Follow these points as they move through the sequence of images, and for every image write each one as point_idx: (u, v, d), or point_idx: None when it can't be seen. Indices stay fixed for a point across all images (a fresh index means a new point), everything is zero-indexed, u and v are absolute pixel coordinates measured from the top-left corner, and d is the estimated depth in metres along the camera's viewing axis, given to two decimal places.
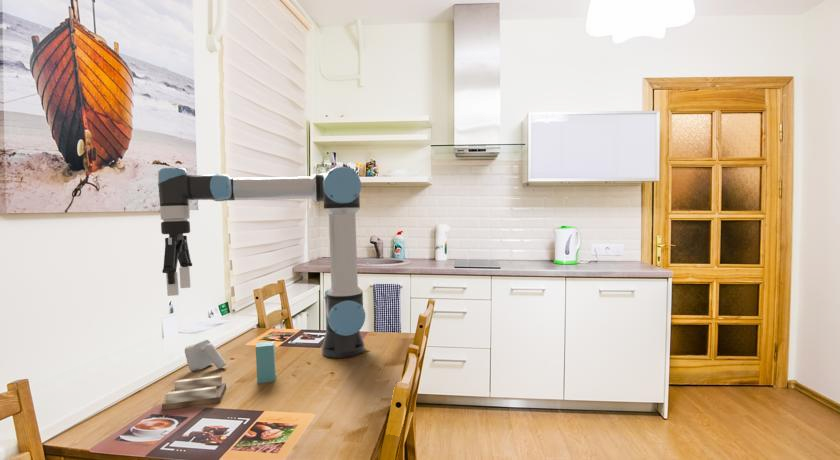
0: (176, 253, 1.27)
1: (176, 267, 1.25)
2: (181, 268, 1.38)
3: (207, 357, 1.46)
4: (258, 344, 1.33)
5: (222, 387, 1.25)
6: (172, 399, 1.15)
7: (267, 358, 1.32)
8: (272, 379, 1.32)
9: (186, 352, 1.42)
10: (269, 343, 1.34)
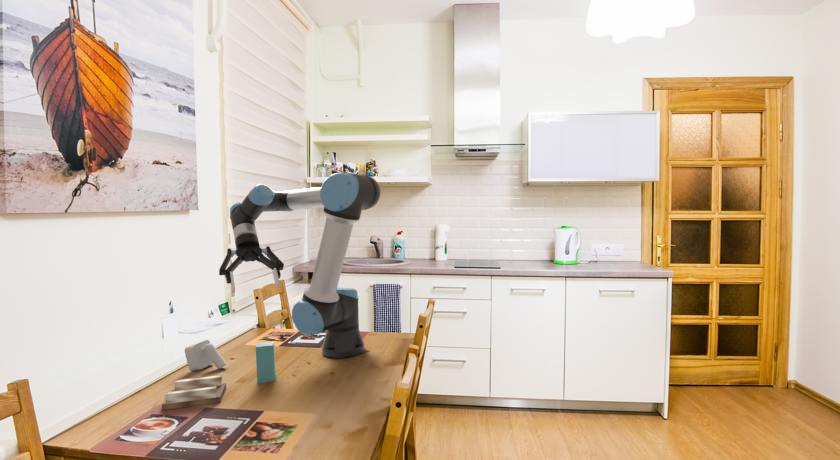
0: (236, 259, 1.45)
1: (231, 268, 1.42)
2: (273, 272, 1.49)
3: (207, 357, 1.46)
4: (258, 344, 1.33)
5: (222, 387, 1.25)
6: (172, 399, 1.15)
7: (267, 358, 1.32)
8: (272, 379, 1.32)
9: (186, 352, 1.42)
10: (269, 343, 1.34)
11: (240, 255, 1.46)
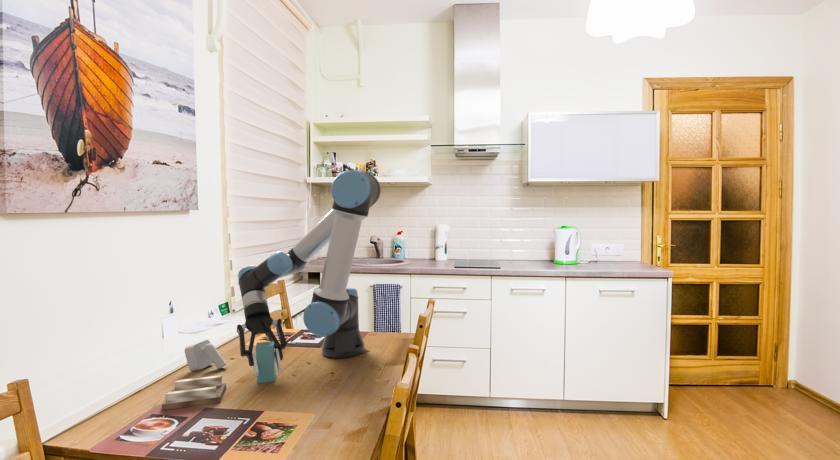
0: (251, 335, 1.36)
1: (252, 347, 1.33)
2: None
3: (207, 357, 1.46)
4: (258, 344, 1.33)
5: (222, 387, 1.25)
6: (172, 399, 1.15)
7: (267, 358, 1.32)
8: (272, 379, 1.32)
9: (186, 352, 1.42)
10: (269, 343, 1.34)
11: (253, 330, 1.36)
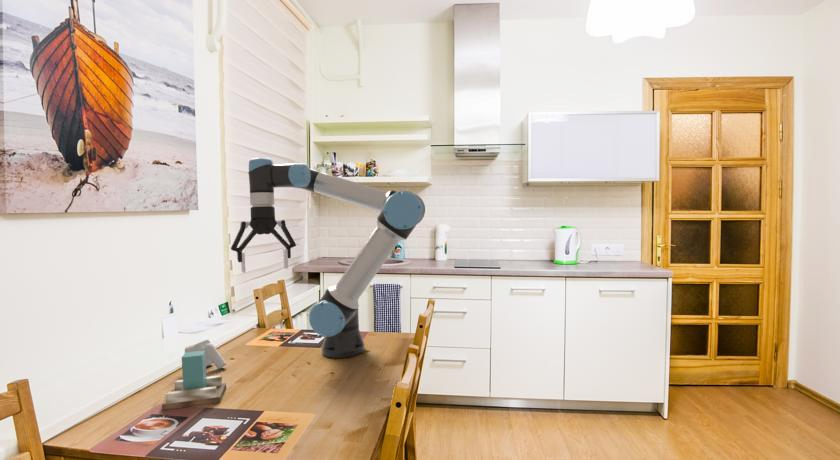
0: (249, 235, 1.42)
1: (243, 248, 1.41)
2: (283, 250, 1.50)
3: (207, 357, 1.46)
4: (186, 354, 1.21)
5: (222, 387, 1.25)
6: (172, 399, 1.15)
7: (195, 370, 1.19)
8: None
9: None
10: (198, 353, 1.21)
11: (254, 232, 1.42)
